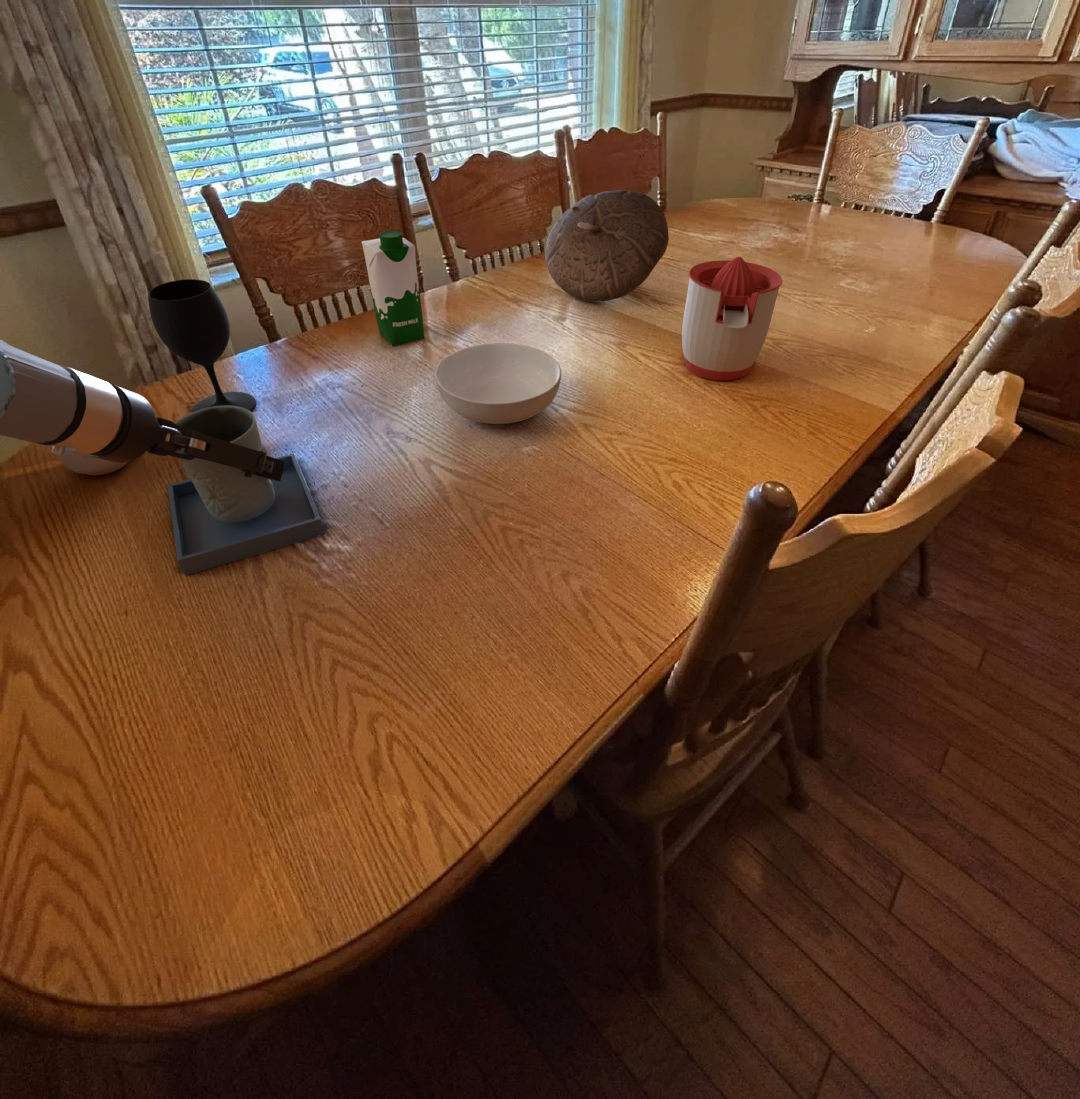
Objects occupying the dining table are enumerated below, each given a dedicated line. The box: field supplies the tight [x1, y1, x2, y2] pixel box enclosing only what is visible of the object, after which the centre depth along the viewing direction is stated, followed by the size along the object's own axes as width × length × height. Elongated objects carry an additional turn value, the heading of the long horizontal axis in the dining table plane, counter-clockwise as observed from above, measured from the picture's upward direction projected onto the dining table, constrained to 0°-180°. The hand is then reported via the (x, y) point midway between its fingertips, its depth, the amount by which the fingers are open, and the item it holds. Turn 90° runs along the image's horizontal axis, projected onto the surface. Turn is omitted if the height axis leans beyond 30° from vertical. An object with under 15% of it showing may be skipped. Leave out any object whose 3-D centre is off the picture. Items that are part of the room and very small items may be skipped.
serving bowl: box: [434, 342, 562, 425], centre depth 106 cm, size 21×21×7 cm
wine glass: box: [147, 278, 257, 413], centre depth 101 cm, size 10×10×20 cm
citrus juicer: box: [681, 256, 783, 381], centre depth 112 cm, size 16×17×20 cm
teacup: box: [48, 446, 129, 476], centre depth 94 cm, size 14×11×8 cm
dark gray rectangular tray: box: [167, 452, 326, 576], centre depth 85 cm, size 17×17×3 cm
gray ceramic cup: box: [174, 405, 275, 522], centre depth 81 cm, size 10×10×12 cm
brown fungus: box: [544, 189, 670, 303], centre depth 142 cm, size 28×23×25 cm
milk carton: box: [361, 230, 426, 348], centre depth 122 cm, size 9×9×20 cm
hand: (246, 464), depth 84 cm, fingers closed on gray ceramic cup, 10 cm apart
